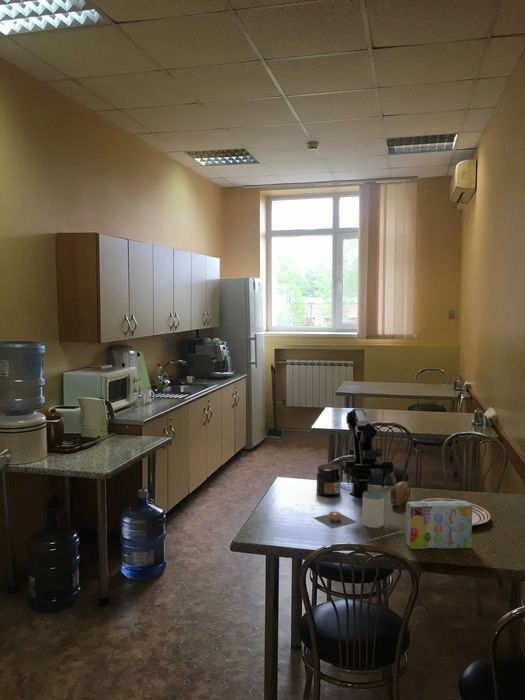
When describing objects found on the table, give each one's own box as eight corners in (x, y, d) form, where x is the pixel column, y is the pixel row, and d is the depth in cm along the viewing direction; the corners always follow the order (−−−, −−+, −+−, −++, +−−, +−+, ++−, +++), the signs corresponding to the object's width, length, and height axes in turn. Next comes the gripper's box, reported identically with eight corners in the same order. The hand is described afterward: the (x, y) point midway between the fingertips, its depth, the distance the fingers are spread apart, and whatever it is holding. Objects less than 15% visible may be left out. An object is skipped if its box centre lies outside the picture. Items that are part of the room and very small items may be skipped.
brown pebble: (326, 519, 216) (327, 512, 215) (335, 516, 218) (336, 510, 218) (334, 523, 212) (334, 516, 212) (343, 520, 214) (343, 514, 214)
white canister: (361, 520, 215) (361, 490, 214) (381, 521, 215) (381, 490, 214) (364, 528, 208) (364, 496, 207) (384, 529, 208) (385, 497, 207)
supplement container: (342, 498, 241) (342, 470, 240) (317, 498, 240) (318, 470, 239) (338, 490, 251) (339, 463, 250) (315, 490, 251) (315, 463, 250)
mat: (312, 519, 217) (313, 517, 217) (337, 513, 223) (337, 512, 223) (332, 529, 207) (332, 528, 207) (357, 523, 213) (357, 522, 213)
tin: (396, 509, 228) (396, 488, 228) (388, 507, 230) (389, 487, 229) (410, 498, 240) (411, 479, 240) (403, 497, 242) (404, 478, 241)
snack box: (465, 542, 197) (466, 500, 195) (471, 549, 191) (473, 505, 190) (405, 542, 196) (406, 500, 195) (409, 549, 190) (410, 506, 189)
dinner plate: (485, 509, 229) (486, 501, 229) (494, 535, 203) (494, 526, 202) (415, 502, 236) (416, 494, 236) (415, 527, 210) (415, 518, 210)
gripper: (345, 440, 221) (348, 476, 211) (393, 441, 220) (398, 477, 210) (342, 454, 229) (345, 490, 219) (389, 455, 229) (393, 490, 219)
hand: (370, 486), depth 217 cm, fingers open, 9 cm apart
